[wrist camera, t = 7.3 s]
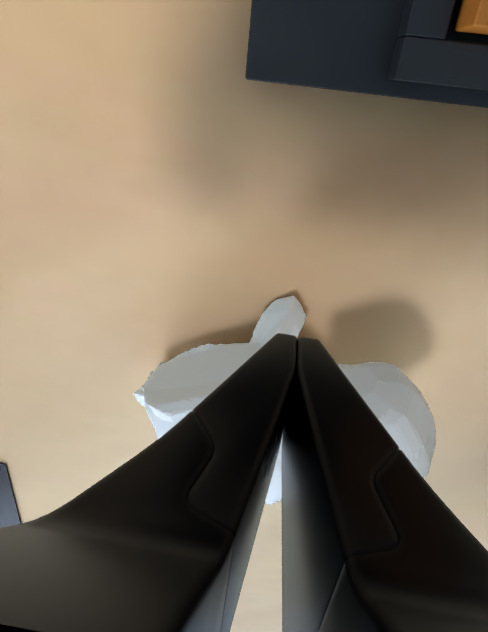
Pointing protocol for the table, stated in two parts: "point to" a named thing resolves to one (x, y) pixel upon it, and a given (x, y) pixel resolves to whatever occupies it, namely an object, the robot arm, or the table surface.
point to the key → (473, 17)
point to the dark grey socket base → (369, 48)
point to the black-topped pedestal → (7, 501)
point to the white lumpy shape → (222, 361)
